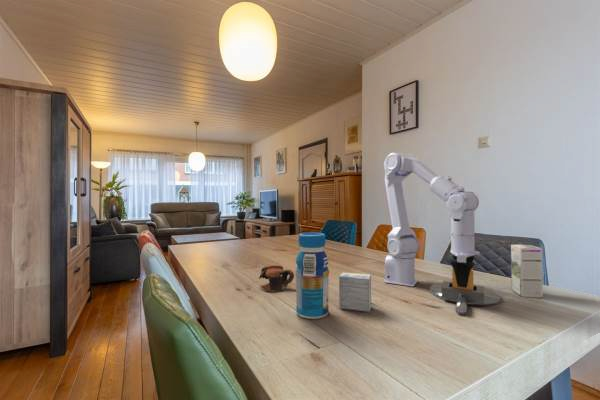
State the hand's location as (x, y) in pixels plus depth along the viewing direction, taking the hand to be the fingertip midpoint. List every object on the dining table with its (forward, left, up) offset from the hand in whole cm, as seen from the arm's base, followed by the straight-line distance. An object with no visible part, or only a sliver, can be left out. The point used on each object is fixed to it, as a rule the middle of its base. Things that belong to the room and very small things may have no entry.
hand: (462, 283), depth 80 cm
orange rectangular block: (0, 0, -4) cm, 4 cm away
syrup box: (+16, +16, -5) cm, 23 cm away
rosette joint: (0, +2, -5) cm, 5 cm away
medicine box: (-24, -20, -5) cm, 32 cm away
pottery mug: (-52, -17, -5) cm, 55 cm away
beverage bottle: (-32, -29, -5) cm, 43 cm away
